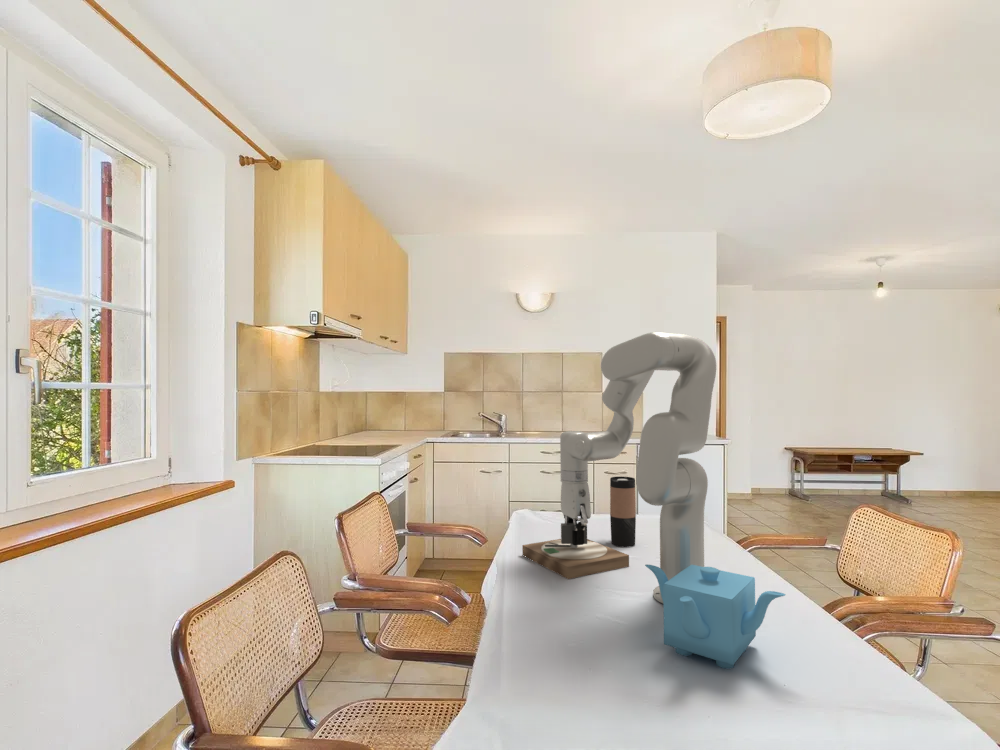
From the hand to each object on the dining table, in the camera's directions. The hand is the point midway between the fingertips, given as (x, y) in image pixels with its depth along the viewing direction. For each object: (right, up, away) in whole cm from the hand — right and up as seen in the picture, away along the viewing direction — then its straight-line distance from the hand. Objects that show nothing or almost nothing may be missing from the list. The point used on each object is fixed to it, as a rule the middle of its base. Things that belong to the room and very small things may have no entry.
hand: (574, 541), depth 150 cm
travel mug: (+17, -6, +16) cm, 24 cm away
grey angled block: (-2, -1, 0) cm, 3 cm away
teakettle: (+17, -4, -52) cm, 55 cm away
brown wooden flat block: (0, -5, 0) cm, 5 cm away
